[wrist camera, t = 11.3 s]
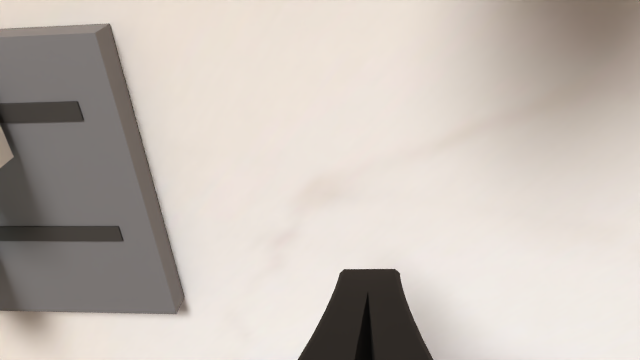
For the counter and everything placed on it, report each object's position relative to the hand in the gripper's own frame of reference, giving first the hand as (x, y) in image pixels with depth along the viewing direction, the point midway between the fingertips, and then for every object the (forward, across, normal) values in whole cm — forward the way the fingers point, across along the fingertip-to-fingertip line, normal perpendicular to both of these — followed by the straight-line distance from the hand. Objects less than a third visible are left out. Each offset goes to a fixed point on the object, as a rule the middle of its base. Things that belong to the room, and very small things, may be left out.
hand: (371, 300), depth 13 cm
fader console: (+10, +16, +2) cm, 19 cm away
